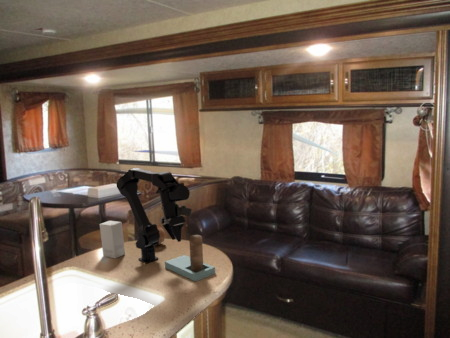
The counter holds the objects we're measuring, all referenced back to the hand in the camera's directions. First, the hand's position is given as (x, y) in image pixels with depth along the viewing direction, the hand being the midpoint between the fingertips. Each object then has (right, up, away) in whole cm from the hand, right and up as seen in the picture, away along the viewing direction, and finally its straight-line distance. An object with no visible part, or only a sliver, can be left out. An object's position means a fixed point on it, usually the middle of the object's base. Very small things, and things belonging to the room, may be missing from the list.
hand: (176, 240), depth 144 cm
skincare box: (-32, -11, +20) cm, 39 cm away
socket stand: (+5, -12, 0) cm, 13 cm away
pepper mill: (+9, -12, -4) cm, 15 cm away
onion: (-15, -9, +32) cm, 36 cm away
